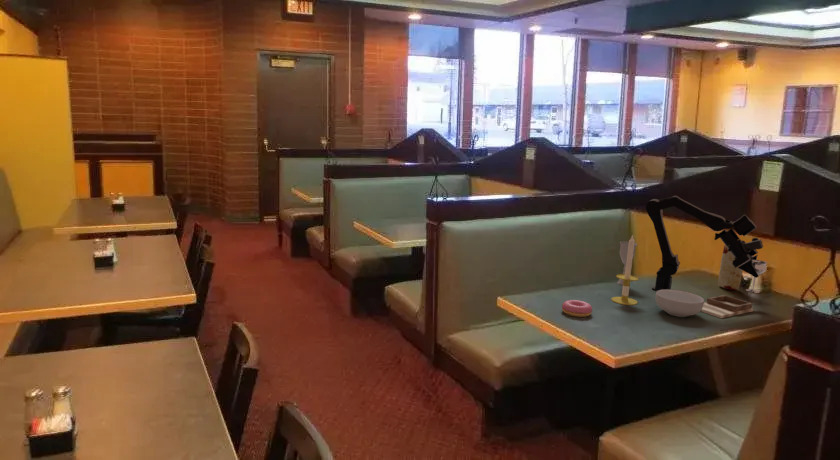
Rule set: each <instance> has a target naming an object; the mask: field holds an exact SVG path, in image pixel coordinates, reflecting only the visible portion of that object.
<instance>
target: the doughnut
mask: <svg viewBox="0 0 840 460" xmlns="http://www.w3.org/2000/svg"><path fill="white" fill-rule="evenodd" d="M561 309H562V311H563V312H564V314H566V315H568V316H570V317H575V318H586V317H589V316H591V314H592V313H593V306H592V305H591V304H590V303H588V302H587V301H583V300H578V299H577V300H576V299H568V300H565V301H564V302H562V305H561Z"/></svg>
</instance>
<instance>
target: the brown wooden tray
mask: <svg viewBox="0 0 840 460" xmlns="http://www.w3.org/2000/svg"><path fill="white" fill-rule="evenodd" d="M752 307H753V302H750V301H746V300H742V299H739V298H737V297H733V296H730V295H729V296H728V295H726V294H722V295H719V296H718V295H717V296H712V297H707V298H706V302H704V304H703V308H702V310H701V311H700V312H701V313H705V314H707V315H711V316H713V317H717V318H720V319H725V318H729V317H734V316H739V315H741V314H746V313H750V312H751V313H752V312H754V308H752Z"/></svg>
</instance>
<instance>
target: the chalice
mask: <svg viewBox="0 0 840 460" xmlns="http://www.w3.org/2000/svg"><path fill="white" fill-rule="evenodd" d="M619 244H620V249H619V257H620V260H621V262H622V264H623V265H624V267H623V268H622V269H623V272H622V274H625V269H626V261H627V253H628V245H629V241H619ZM637 246H638V243H636V242H635V243H634V251H633V259H634V257H635V256H636V255H635V254H636V248H637ZM623 281H624V280H621V279H619V278H618V281H617V284H618V285H620V286H623Z"/></svg>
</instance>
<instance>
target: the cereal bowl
mask: <svg viewBox="0 0 840 460" xmlns="http://www.w3.org/2000/svg"><path fill="white" fill-rule="evenodd" d="M655 302H656V304H657V306H658V307H659V308H660V310H661V309H662V310H663V311H664V312H666V313H667V314H668V315H670V316H673V317H674V316H675V317H677V318H678V317H679V318H686V317H689V316H693V315H697V314H699V313H700V312H701V310H702V308H703V304H704V303H705V299H704V298H703V296H702V297H701V296H700V295H697V294H695V293H690V292H687V291H685V290H678V289H671V290H669V289H665V290H659V291H656V292H655Z"/></svg>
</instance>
